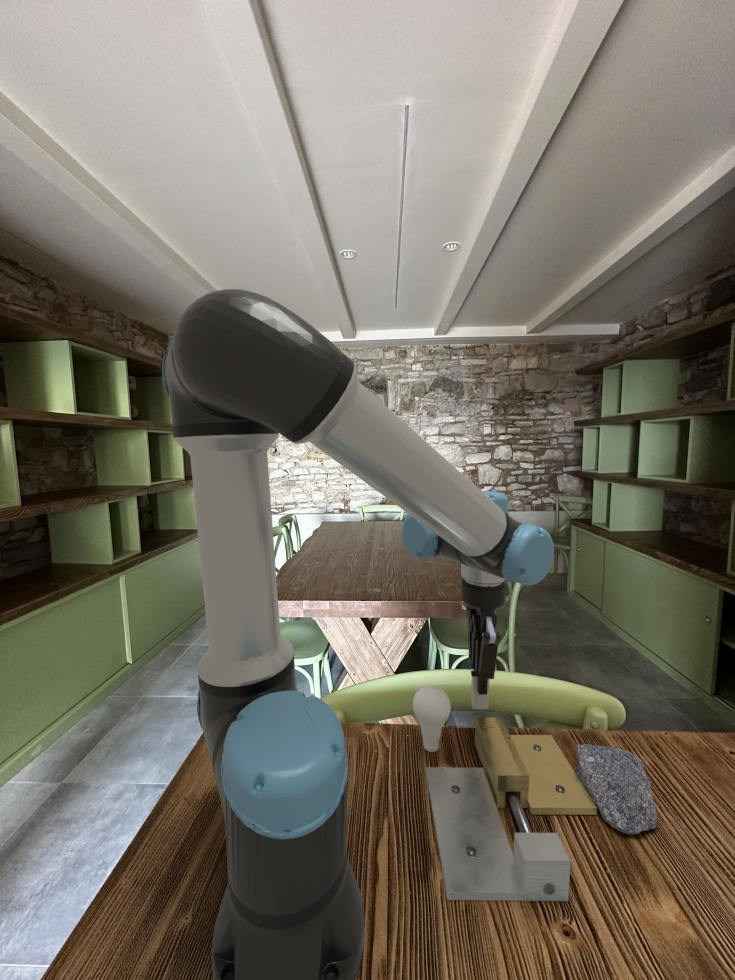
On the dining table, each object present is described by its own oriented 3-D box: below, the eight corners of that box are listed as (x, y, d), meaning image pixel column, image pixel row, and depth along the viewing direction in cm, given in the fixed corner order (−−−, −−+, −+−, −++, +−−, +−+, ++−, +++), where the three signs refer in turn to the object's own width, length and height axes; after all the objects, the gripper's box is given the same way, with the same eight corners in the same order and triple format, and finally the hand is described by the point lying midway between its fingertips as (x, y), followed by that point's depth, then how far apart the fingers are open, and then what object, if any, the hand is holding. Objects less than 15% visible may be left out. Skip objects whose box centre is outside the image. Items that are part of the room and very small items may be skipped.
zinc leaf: (446, 900, 45) (447, 859, 44) (420, 742, 69) (420, 715, 68) (568, 901, 45) (570, 860, 44) (499, 742, 68) (500, 715, 68)
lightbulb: (434, 771, 63) (435, 704, 61) (404, 749, 67) (405, 687, 66) (457, 751, 67) (458, 688, 65) (428, 732, 71) (429, 673, 70)
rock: (566, 741, 63) (631, 735, 62) (567, 771, 64) (631, 765, 63) (608, 813, 51) (689, 807, 51) (609, 849, 52) (689, 843, 52)
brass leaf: (499, 814, 55) (500, 781, 55) (473, 740, 69) (474, 713, 68) (596, 814, 55) (598, 781, 54) (551, 740, 69) (552, 713, 68)
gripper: (518, 593, 64) (513, 731, 66) (493, 568, 77) (489, 685, 79) (471, 593, 64) (467, 731, 66) (454, 568, 77) (451, 685, 79)
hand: (479, 706), depth 73 cm, fingers closed
